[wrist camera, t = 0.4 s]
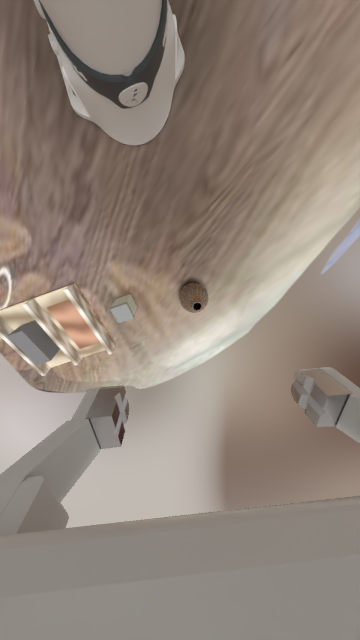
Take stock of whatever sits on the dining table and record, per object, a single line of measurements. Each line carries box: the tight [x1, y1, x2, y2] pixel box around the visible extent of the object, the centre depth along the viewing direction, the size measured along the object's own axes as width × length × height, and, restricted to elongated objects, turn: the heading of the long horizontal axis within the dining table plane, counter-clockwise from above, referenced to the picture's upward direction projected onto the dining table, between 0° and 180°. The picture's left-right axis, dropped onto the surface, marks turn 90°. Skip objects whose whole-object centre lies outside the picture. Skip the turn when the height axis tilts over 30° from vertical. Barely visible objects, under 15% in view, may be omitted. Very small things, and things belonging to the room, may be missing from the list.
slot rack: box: [0, 283, 116, 376], centre depth 46 cm, size 20×22×4 cm
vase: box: [180, 283, 208, 313], centre depth 42 cm, size 7×7×9 cm
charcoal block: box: [7, 320, 60, 365], centre depth 46 cm, size 10×4×5 cm, turn 18°
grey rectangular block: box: [110, 294, 137, 323], centre depth 44 cm, size 4×4×6 cm
